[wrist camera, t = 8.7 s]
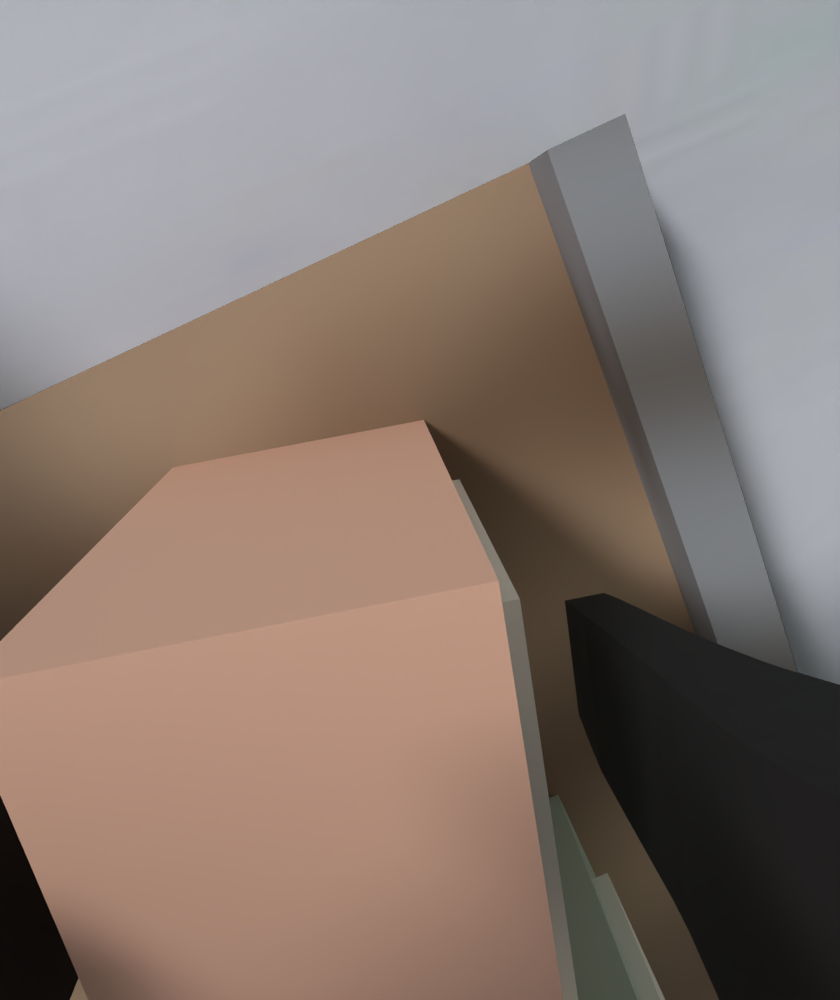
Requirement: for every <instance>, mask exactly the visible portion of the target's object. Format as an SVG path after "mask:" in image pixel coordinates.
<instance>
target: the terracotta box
mask: <svg viewBox="0 0 840 1000" xmlns="http://www.w3.org/2000/svg"><path fill="white" fill-rule="evenodd" d="M0 796H1V798H2V800H3V803H4V805H5V807H6V810H7V812H8V814H9V817H10V819H11V821H12V824H13V826H14V828H15V831H16V833H17V835H18V838H19V840H20V842H21V845H22V847H23V849H24V852H25V854H26V856H27V858H28V861H29V863H30V865H31V868H32V870H33V872H34V875H35V877H36V879H37V882H38V884H39V886H40V889H41V891H42V893H43V896H44V898H45V900H46V903H47V905H48V907H49V910H50V912H51V914H52V917H53V919H54V921H55V924H56V926H57V928H58V931H59V933H60V935H61V938H62V940H63V942H64V945H65V947H66V949H67V952H68V954H69V956H70V959H71V961H72V963H73V966H74V968H75V970H76V973H77V975H78V977H79V980H80V982H81V984H82V987H83V989H84V991H85V994H86V996H87V998H88V1000H578V994H577V988H576V981H575V974H574V967H573V960H572V953H571V946H570V940H569V933H568V926H567V919H566V912H565V905H564V898H563V891H562V885H561V878H560V871H559V864H558V857H557V850H556V843H555V837H554V830H553V823H552V816H551V809H550V802H549V795H548V788H547V782H546V775H545V768H544V761H543V754H542V747H541V740H540V734H539V727H538V720H537V713H536V706H535V699H534V692H533V685H532V679H531V672H530V665H529V658H528V651H527V644H526V637H525V631H524V624H523V617H522V610H521V603H520V598H519V596H518V594H517V592H516V590H515V588H514V586H513V584H512V582H511V580H510V578H509V576H508V574H507V573H506V571H505V569H504V567H503V565H502V563H501V561H500V559H499V557H498V555H497V553H496V551H495V549H494V547H493V545H492V543H491V541H490V539H489V537H488V535H487V533H486V531H485V529H484V527H483V525H482V523H481V521H480V519H479V517H478V515H477V513H476V511H475V509H474V507H473V505H472V503H471V501H470V499H469V497H468V495H467V493H466V491H465V489H464V487H463V485H462V483H461V481H460V480H459V479H458V480H453V481H452V479H451V477H450V475H449V473H448V471H447V469H446V467H445V464H444V462H443V460H442V458H441V456H440V454H439V451H438V449H437V447H436V445H435V443H434V441H433V439H432V436H431V434H430V432H429V430H428V428H427V426H426V424H425V421H424V420H421V421H416V422H410V423H405V424H400V425H395V426H389V427H384V428H379V429H373V430H368V431H363V432H358V433H352V434H347V435H342V436H337V437H331V438H326V439H321V440H315V441H310V442H305V443H300V444H294V445H289V446H284V447H278V448H273V449H268V450H263V451H257V452H252V453H247V454H242V455H236V456H231V457H226V458H220V459H215V460H210V461H205V462H199V463H194V464H189V465H184V466H178V467H173V468H172V469H171V470H170V471H169V472H168V473H167V474H166V475H165V476H164V477H163V478H162V479H161V480H160V481H159V482H158V483H157V484H156V485H155V486H154V487H153V488H152V489H151V490H150V491H149V492H148V493H147V494H146V495H145V496H144V497H143V498H142V499H141V500H140V501H139V502H138V503H137V504H136V505H135V506H134V507H133V508H132V509H131V510H130V511H129V512H128V513H127V514H126V515H125V516H124V517H123V518H122V519H121V520H120V521H119V522H118V523H117V524H116V525H115V526H114V527H113V528H112V529H111V530H110V531H109V532H108V533H107V534H106V535H105V536H104V537H103V538H102V539H101V540H100V541H99V542H98V543H97V544H96V545H95V546H94V547H93V548H92V549H91V550H90V551H89V552H88V553H87V554H86V555H85V556H84V557H83V558H82V559H81V560H80V561H79V562H78V563H77V564H76V565H75V566H74V567H73V569H72V570H71V571H70V572H69V573H68V574H67V575H66V576H65V577H64V578H63V579H62V580H61V581H60V582H59V583H58V584H57V585H56V586H55V587H54V588H53V589H52V590H51V591H50V592H49V593H48V594H47V595H46V596H45V597H44V598H43V599H42V600H41V601H40V602H39V603H38V604H37V605H36V606H35V607H34V608H33V609H32V610H31V611H30V612H29V613H28V614H27V615H26V616H25V617H24V618H23V619H22V620H21V621H20V622H19V623H18V624H17V625H16V626H15V627H14V628H13V629H12V630H11V631H10V632H9V633H8V634H7V635H6V636H5V637H4V638H3V639H2V640H1V641H0Z"/></svg>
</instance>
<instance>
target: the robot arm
mask: <svg viewBox="0 0 840 1000" xmlns="http://www.w3.org/2000/svg"><path fill="white" fill-rule="evenodd" d="M565 607H566V615H567V623H568V631H569V639H570V647H571V656H572V664H573V672H574V680H575V688H576V696H577V704H578V712H579V716H580V719H581V722H582V724H583V727H584V729H585V732H586V735H587V737H588V740H589V742H590V745H591V747H592V750H593V752H594V755H595V757H596V760H597V762H598V764H599V767H600V769H601V771H602V773H603V775H604V777H605V779H606V781H607V783H608V784H609V786H610V788H611V790H612V792H613V793H614V795H615V797H616V799H617V801H618V802H619V804H620V806H621V808H622V810H623V812H624V813H625V815H626V817H627V819H628V820H629V822H630V824H631V826H632V828H633V829H634V831H635V833H636V835H637V837H638V838H639V840H640V842H641V844H642V845H643V847H644V849H645V851H646V853H647V854H648V856H649V858H650V860H651V861H652V863H653V865H654V867H655V869H656V870H657V872H658V874H659V876H660V878H661V879H662V881H663V883H664V885H665V886H666V888H667V890H668V892H669V894H670V895H671V897H672V899H673V901H674V903H675V905H676V907H677V909H678V911H679V913H680V915H681V917H682V919H683V921H684V923H685V925H686V926H687V928H688V930H689V932H690V935H691V937H692V939H693V941H694V944H695V946H696V948H697V951H698V953H699V955H700V957H701V960H702V962H703V964H704V966H705V969H706V971H707V973H708V976H709V978H710V980H711V982H712V985H713V987H714V989H715V991H716V994H717V996H718V998H719V1000H840V685H838V684H834V683H831V682H828V681H824V680H821V679H818V678H814V677H811V676H807V675H804V674H801V673H797V672H794V671H790V670H787V669H784V668H781V667H778V666H775V665H772V664H769V663H766V662H764V661H761V660H758V659H756V658H753V657H750V656H748V655H745V654H742V653H740V652H737V651H735V650H732V649H729V648H727V647H724V646H722V645H719V644H717V643H715V642H712V641H710V640H707V639H705V638H703V637H700V636H698V635H696V634H693V633H691V632H689V631H687V630H685V629H682V628H680V627H678V626H676V625H674V624H671V623H669V622H667V621H665V620H663V619H661V618H659V617H656V616H654V615H652V614H650V613H648V612H646V611H644V610H642V609H640V608H638V607H635V606H633V605H631V604H629V603H627V602H625V601H623V600H620V599H618V598H616V597H613V596H611V595H608V594H606V593H601V594H596V595H590V596H585V597H580V598H575V599H570V600H565ZM78 978H79V977H78V975H77V973H76V970H75V968H74V966H73V963H72V961H71V959H70V956H69V954H68V952H67V949H66V947H65V945H64V942H63V940H62V938H61V935H60V933H59V931H58V928H57V926H56V924H55V921H54V919H53V917H52V914H51V912H50V910H49V907H48V905H47V903H46V900H45V898H44V896H43V893H42V891H41V889H40V886H39V884H38V882H37V879H36V877H35V875H34V872H33V870H32V868H31V865H30V863H29V861H28V858H27V856H26V854H25V852H24V849H23V847H22V845H21V842H20V840H19V838H18V835H17V833H16V831H15V828H14V826H13V824H12V821H11V819H10V817H9V814H8V812H7V810H6V807H5V805H4V803H3V800H2V798H1V796H0V1000H70V998H71V996H72V993H73V991H74V988H75V985H76V983H77V980H78Z"/></svg>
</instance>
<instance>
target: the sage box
mask: <svg viewBox="0 0 840 1000" xmlns="http://www.w3.org/2000/svg"><path fill="white" fill-rule="evenodd" d="M549 802H550V809H551V816H552V823H553V830H554V837H555V843H556V850H557V857H558V864H559V871H560V878H561V885H562V891H563V898H564V905H565V912H566V919H567V926H568V933H569V940H570V946H571V953H572V960H573V967H574V974H575V981H576V988H577V994H578V1000H665V998H664V996H663V994H662V991H661V989H660V987H659V985H658V983H657V980H656V978H655V976H654V974H653V972H652V970H651V967H650V965H649V963H648V961H647V959H646V956H645V954H644V952H643V950H642V948H641V945H640V943H639V941H638V939H637V937H636V935H635V932H634V930H633V928H632V926H631V924H630V921H629V919H628V917H627V915H626V913H625V910H624V908H623V906H622V904H621V902H620V900H619V897H618V895H617V893H616V891H615V889H614V886H613V884H612V882H611V880H610V878H609V875H608V873H606V874H603V875H601V876H599V877H596V875H595V873H594V871H593V869H592V867H591V864H590V862H589V860H588V858H587V856H586V854H585V852H584V849H583V847H582V845H581V843H580V841H579V839H578V836H577V834H576V832H575V830H574V828H573V826H572V824H571V821H570V819H569V817H568V815H567V813H566V811H565V809H564V806H563V804H562V802H561V800H560V798H559V796H558V795H555V796H553V797H551V798H549Z"/></svg>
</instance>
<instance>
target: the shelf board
mask: <svg viewBox="0 0 840 1000" xmlns="http://www.w3.org/2000/svg"><path fill="white" fill-rule="evenodd" d="M421 420H424V421H425V424H426V426H427V428H428V430H429V432H430V434H431V436H432V439H433V441H434V443H435V445H436V447H437V449H438V451H439V454H440V456H441V458H442V460H443V462H444V464H445V467H446V469H447V471H448V473H449V475H450V477H451V479H452V481H453V480H458V479H459V480H460V481H461V483H462V485H463V487H464V489H465V491H466V493H467V495H468V497H469V499H470V501H471V503H472V505H473V507H474V509H475V511H476V513H477V515H478V517H479V519H480V521H481V523H482V525H483V527H484V529H485V531H486V533H487V535H488V537H489V539H490V541H491V543H492V545H493V547H494V549H495V551H496V553H497V555H498V557H499V559H500V561H501V563H502V565H503V567H504V569H505V571H506V573H507V574H508V576H509V578H510V580H511V582H512V584H513V586H514V588H515V590H516V592H517V594H518V596H519V598H520V603H521V610H522V617H523V624H524V631H525V637H526V644H527V651H528V658H529V665H530V672H531V679H532V685H533V692H534V699H535V706H536V713H537V720H538V727H539V734H540V740H541V747H542V754H543V761H544V768H545V775H546V782H547V788H548V795H549V798H551V797H553V796H555V795H558V796H559V798H560V800H561V802H562V804H563V806H564V809H565V811H566V813H567V815H568V817H569V819H570V821H571V824H572V826H573V828H574V830H575V832H576V834H577V836H578V839H579V841H580V843H581V845H582V847H583V849H584V852H585V854H586V856H587V858H588V860H589V862H590V864H591V867H592V869H593V871H594V873H595V875H596V877H599V876H601V875H603V874H606V873H608V875H609V878H610V880H611V882H612V884H613V886H614V889H615V891H616V893H617V895H618V897H619V900H620V902H621V904H622V906H623V908H624V910H625V913H626V915H627V917H628V919H629V921H630V924H631V926H632V928H633V930H634V932H635V935H636V937H637V939H638V941H639V943H640V945H641V948H642V950H643V952H644V954H645V956H646V959H647V961H648V963H649V965H650V967H651V970H652V972H653V974H654V976H655V978H656V980H657V983H658V985H659V987H660V989H661V991H662V994H663V996H664V998H665V1000H719V998H718V996H717V994H716V991H715V989H714V987H713V985H712V982H711V980H710V978H709V976H708V973H707V971H706V969H705V966H704V964H703V962H702V960H701V957H700V955H699V953H698V951H697V948H696V946H695V944H694V941H693V939H692V937H691V935H690V932H689V930H688V928H687V926H686V925H685V923H684V921H683V919H682V917H681V915H680V913H679V911H678V909H677V907H676V905H675V903H674V901H673V899H672V897H671V895H670V894H669V892H668V890H667V888H666V886H665V885H664V883H663V881H662V879H661V878H660V876H659V874H658V872H657V870H656V869H655V867H654V865H653V863H652V861H651V860H650V858H649V856H648V854H647V853H646V851H645V849H644V847H643V845H642V844H641V842H640V840H639V838H638V837H637V835H636V833H635V831H634V829H633V828H632V826H631V824H630V822H629V820H628V819H627V817H626V815H625V813H624V812H623V810H622V808H621V806H620V804H619V802H618V801H617V799H616V797H615V795H614V793H613V792H612V790H611V788H610V786H609V784H608V783H607V781H606V779H605V777H604V775H603V773H602V771H601V769H600V767H599V764H598V762H597V760H596V757H595V755H594V752H593V750H592V747H591V745H590V742H589V740H588V737H587V735H586V732H585V729H584V727H583V724H582V722H581V719H580V716H579V712H578V704H577V696H576V688H575V680H574V672H573V664H572V656H571V647H570V639H569V631H568V623H567V615H566V607H565V600H570V599H575V598H580V597H585V596H590V595H596V594H601V593H606V594H608V595H611V596H613V597H616V598H618V599H620V600H623V601H625V602H627V603H629V604H631V605H633V606H635V607H638V608H640V609H642V610H644V611H646V612H648V613H650V614H652V615H654V616H656V617H659V618H661V619H663V620H665V621H667V622H669V623H671V624H674V625H676V626H678V627H680V628H682V629H685V630H687V631H689V632H691V633H693V634H696V635H698V636H700V637H703V638H705V639H707V640H710V641H712V642H715V643H717V644H719V645H722V646H724V647H727V648H729V649H732V650H735V651H737V652H740V653H742V654H745V655H748V656H750V657H753V658H756V659H758V660H761V661H764V662H766V663H769V664H772V665H775V666H778V667H781V668H784V669H787V670H790V671H794V672H797V668H796V665H795V662H794V659H793V656H792V652H791V649H790V646H789V643H788V639H787V636H786V633H785V630H784V626H783V623H782V620H781V617H780V613H779V610H778V607H777V604H776V601H775V597H774V594H773V591H772V588H771V584H770V581H769V578H768V575H767V571H766V568H765V565H764V562H763V559H762V555H761V552H760V549H759V545H758V542H757V539H756V536H755V532H754V529H753V526H752V523H751V520H750V516H749V513H748V510H747V507H746V503H745V500H744V497H743V494H742V490H741V487H740V484H739V481H738V477H737V474H736V471H735V468H734V465H733V461H732V458H731V455H730V452H729V448H728V445H727V442H726V439H725V435H724V432H723V429H722V426H721V422H720V419H719V416H718V413H717V410H716V406H715V403H714V400H713V397H712V393H711V390H710V387H709V384H708V381H707V377H706V374H705V371H704V368H703V364H702V361H701V358H700V355H699V352H698V348H697V345H696V342H695V339H694V335H693V332H692V329H691V326H690V322H689V319H688V316H687V313H686V309H685V306H684V303H683V300H682V297H681V293H680V290H679V287H678V284H677V280H676V277H675V274H674V271H673V267H672V264H671V261H670V258H669V254H668V251H667V248H666V245H665V242H664V238H663V235H662V232H661V229H660V225H659V222H658V219H657V216H656V212H655V209H654V206H653V203H652V199H651V196H650V193H649V190H648V187H647V183H646V180H645V177H644V174H643V170H642V167H641V164H640V161H639V157H638V154H637V151H636V148H635V145H634V141H633V138H632V135H631V132H630V128H629V125H628V122H627V119H626V115H625V114H624V115H622V116H619V117H617V118H615V119H613V120H611V121H609V122H607V123H604V124H602V125H600V126H598V127H596V128H594V129H592V130H590V131H587V132H585V133H583V134H581V135H579V136H577V137H575V138H572V139H570V140H568V141H566V142H564V143H562V144H560V145H557V146H555V147H553V148H551V149H549V150H547V151H546V152H544V153H543V154H541V155H540V156H538V157H537V158H535V159H534V160H532V161H531V162H530V163H528V164H526V165H524V166H522V167H519V168H517V169H515V170H513V171H511V172H509V173H507V174H504V175H502V176H500V177H498V178H496V179H494V180H492V181H490V182H487V183H485V184H483V185H481V186H479V187H477V188H475V189H472V190H470V191H468V192H466V193H464V194H462V195H460V196H457V197H455V198H453V199H451V200H449V201H447V202H445V203H443V204H440V205H438V206H436V207H434V208H432V209H430V210H428V211H425V212H423V213H421V214H419V215H417V216H415V217H413V218H410V219H408V220H406V221H404V222H402V223H400V224H398V225H396V226H393V227H391V228H389V229H387V230H385V231H383V232H381V233H378V234H376V235H374V236H372V237H370V238H368V239H366V240H363V241H361V242H359V243H357V244H355V245H353V246H351V247H349V248H346V249H344V250H342V251H340V252H338V253H336V254H334V255H331V256H329V257H327V258H325V259H323V260H321V261H319V262H316V263H314V264H312V265H310V266H308V267H306V268H304V269H302V270H299V271H297V272H295V273H293V274H291V275H289V276H287V277H284V278H282V279H280V280H278V281H276V282H274V283H272V284H269V285H267V286H265V287H263V288H261V289H259V290H257V291H255V292H252V293H250V294H248V295H246V296H244V297H242V298H240V299H237V300H235V301H233V302H231V303H229V304H227V305H225V306H222V307H220V308H218V309H216V310H214V311H212V312H210V313H208V314H205V315H203V316H201V317H199V318H197V319H195V320H193V321H190V322H188V323H186V324H184V325H182V326H180V327H178V328H175V329H173V330H171V331H169V332H167V333H165V334H163V335H161V336H158V337H156V338H154V339H152V340H150V341H148V342H146V343H143V344H141V345H139V346H137V347H135V348H133V349H131V350H128V351H126V352H124V353H122V354H120V355H118V356H116V357H114V358H111V359H109V360H107V361H105V362H103V363H101V364H99V365H96V366H94V367H92V368H90V369H88V370H86V371H84V372H81V373H79V374H77V375H75V376H73V377H71V378H69V379H67V380H64V381H62V382H60V383H58V384H56V385H54V386H52V387H49V388H47V389H45V390H43V391H41V392H39V393H37V394H34V395H32V396H30V397H28V398H26V399H24V400H22V401H20V402H17V403H15V404H13V405H11V406H9V407H7V408H5V409H2V410H0V641H1V640H2V639H3V638H4V637H5V636H6V635H7V634H8V633H9V632H10V631H11V630H12V629H13V628H14V627H15V626H16V625H17V624H18V623H19V622H20V621H21V620H22V619H23V618H24V617H25V616H26V615H27V614H28V613H29V612H30V611H31V610H32V609H33V608H34V607H35V606H36V605H37V604H38V603H39V602H40V601H41V600H42V599H43V598H44V597H45V596H46V595H47V594H48V593H49V592H50V591H51V590H52V589H53V588H54V587H55V586H56V585H57V584H58V583H59V582H60V581H61V580H62V579H63V578H64V577H65V576H66V575H67V574H68V573H69V572H70V571H71V570H72V569H73V567H74V566H75V565H76V564H77V563H78V562H79V561H80V560H81V559H82V558H83V557H84V556H85V555H86V554H87V553H88V552H89V551H90V550H91V549H92V548H93V547H94V546H95V545H96V544H97V543H98V542H99V541H100V540H101V539H102V538H103V537H104V536H105V535H106V534H107V533H108V532H109V531H110V530H111V529H112V528H113V527H114V526H115V525H116V524H117V523H118V522H119V521H120V520H121V519H122V518H123V517H124V516H125V515H126V514H127V513H128V512H129V511H130V510H131V509H132V508H133V507H134V506H135V505H136V504H137V503H138V502H139V501H140V500H141V499H142V498H143V497H144V496H145V495H146V494H147V493H148V492H149V491H150V490H151V489H152V488H153V487H154V486H155V485H156V484H157V483H158V482H159V481H160V480H161V479H162V478H163V477H164V476H165V475H166V474H167V473H168V472H169V471H170V470H171V469H172V468H173V467H178V466H184V465H189V464H194V463H199V462H205V461H210V460H215V459H220V458H226V457H231V456H236V455H242V454H247V453H252V452H257V451H263V450H268V449H273V448H278V447H284V446H289V445H294V444H300V443H305V442H310V441H315V440H321V439H326V438H331V437H337V436H342V435H347V434H352V433H358V432H363V431H368V430H373V429H379V428H384V427H389V426H395V425H400V424H405V423H410V422H416V421H421ZM797 673H798V672H797ZM70 1000H88V998H87V996H86V994H85V991H84V989H83V987H82V984H81V982H80V980H79V978H78V980H77V983H76V985H75V988H74V991H73V993H72V996H71V998H70Z"/></svg>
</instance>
